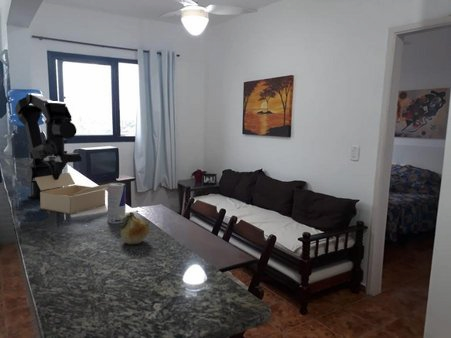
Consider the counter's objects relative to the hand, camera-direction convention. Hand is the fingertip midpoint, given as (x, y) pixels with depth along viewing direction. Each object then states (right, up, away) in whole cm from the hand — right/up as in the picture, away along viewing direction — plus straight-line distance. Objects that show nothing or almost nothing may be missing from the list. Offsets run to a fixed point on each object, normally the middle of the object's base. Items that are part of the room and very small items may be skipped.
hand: (56, 179), depth 121 cm
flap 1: (0, 0, 0) cm, 0 cm away
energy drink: (+27, -13, -16) cm, 34 cm away
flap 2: (+16, -3, -6) cm, 17 cm away
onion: (+38, -16, -34) cm, 53 cm away
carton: (+7, -10, -2) cm, 12 cm away
